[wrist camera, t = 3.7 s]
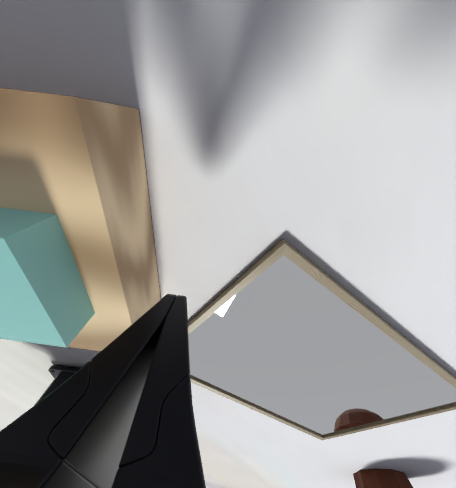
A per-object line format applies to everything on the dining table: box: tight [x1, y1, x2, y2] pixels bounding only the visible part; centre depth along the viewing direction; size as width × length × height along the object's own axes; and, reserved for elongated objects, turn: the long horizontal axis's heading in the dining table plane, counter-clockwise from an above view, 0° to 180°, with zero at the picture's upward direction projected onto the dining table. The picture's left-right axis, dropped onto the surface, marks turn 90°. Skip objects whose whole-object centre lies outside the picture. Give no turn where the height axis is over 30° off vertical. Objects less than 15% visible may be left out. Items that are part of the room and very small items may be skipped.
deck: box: [0, 88, 161, 351], centre depth 11 cm, size 14×14×4 cm
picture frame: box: [188, 239, 456, 440], centre depth 20 cm, size 19×1×28 cm
